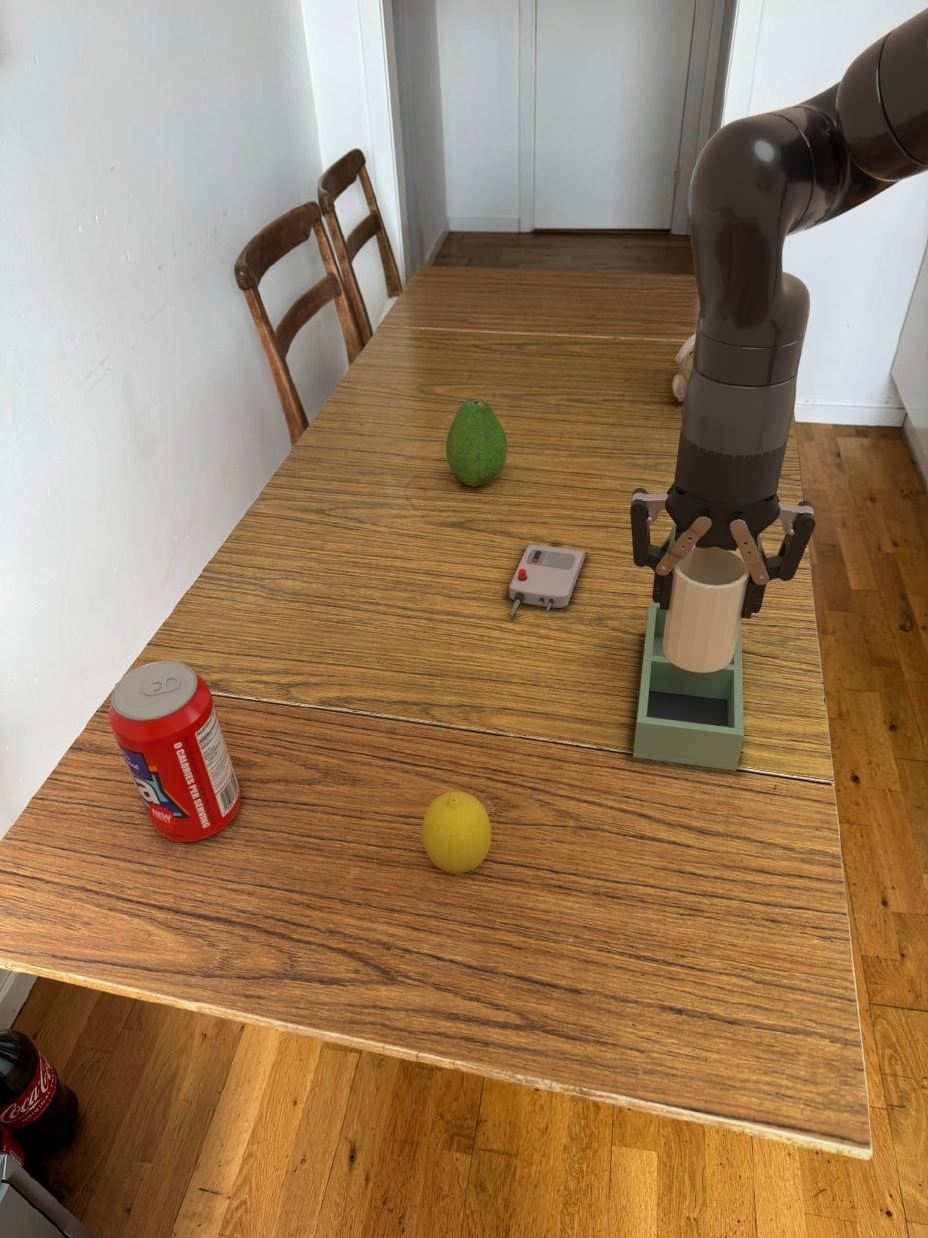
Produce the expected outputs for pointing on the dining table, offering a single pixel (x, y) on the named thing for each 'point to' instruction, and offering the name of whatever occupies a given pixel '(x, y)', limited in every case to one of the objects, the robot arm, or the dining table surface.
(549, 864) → the dining table surface
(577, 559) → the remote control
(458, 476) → the fruit
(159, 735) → the soda can
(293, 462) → the dining table surface
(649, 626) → the holder
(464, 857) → the lemon
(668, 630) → the cup
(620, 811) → the dining table surface
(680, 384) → the ceramic sculpture
